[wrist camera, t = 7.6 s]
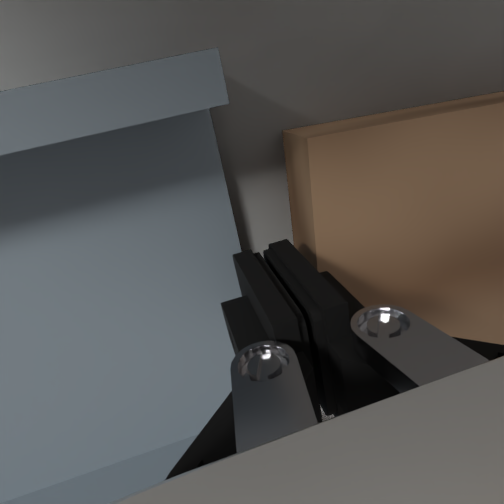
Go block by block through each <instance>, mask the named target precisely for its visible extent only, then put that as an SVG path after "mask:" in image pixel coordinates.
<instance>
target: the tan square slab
mask: <svg viewBox="0 0 504 504" xmlns="http://www.w3.org/2000/svg"><path fill="white" fill-rule="evenodd" d="M282 133H283V143H284V153H285V162H286V172H287V182H288V192H289V201H290V211H291V221H292V231H293V241H294V247H295V248H296V249H297V250H298V251H299V252H300V253H301V254H302V255H303V256H304V257H305V258H306V259H307V260H308V261H309V262H310V263H311V264H312V265H313V267H314V268H315V269H316V270H317V271H318V272H319V273H320V272H324V271H328V272H329V273H330V274H331V275H332V276H333V277H334V278H335V279H336V280H337V281H338V282H340V283H341V284H342V285H343V286H344V287H345V288H346V289H347V290H348V291H349V292H350V293H351V294H352V295H353V296H354V297H355V298H356V299H357V300H358V301H359V302H360V303H361V304H362V305H363V306H364V307H368V306H371V305H379V304H388V305H395V306H399V307H402V308H404V309H407V310H409V311H410V312H412V313H414V314H415V315H417V316H418V317H420V318H422V319H423V320H425V321H427V322H428V323H430V324H431V325H433V326H435V327H436V328H438V329H440V330H441V331H443V332H444V333H446V334H448V335H449V336H451V337H457V338H463V339H470V340H476V341H482V342H489V343H495V344H501V345H504V91H502V92H496V93H491V94H485V95H479V96H474V97H468V98H463V99H457V100H451V101H446V102H440V103H435V104H429V105H423V106H418V107H412V108H406V109H401V110H395V111H390V112H384V113H378V114H373V115H367V116H361V117H356V118H350V119H345V120H339V121H333V122H328V123H322V124H316V125H311V126H305V127H300V128H294V129H288V130H283V131H282Z"/></svg>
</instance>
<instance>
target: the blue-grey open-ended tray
mask: <svg viewBox="0 0 504 504" xmlns="http://www.w3.org/2000/svg"><path fill="white" fill-rule="evenodd" d="M226 104H230V103H229V98H228V94H227V89H226V84H225V79H224V74H223V69H222V64H221V59H220V54H219V50H218V47H216V48H211V49H207V50H202V51H197V52H192V53H187V54H182V55H177V56H172V57H167V58H162V59H157V60H153V61H148V62H143V63H138V64H133V65H128V66H123V67H118V68H113V69H108V70H103V71H99V72H94V73H89V74H84V75H79V76H74V77H69V78H64V79H59V80H54V81H49V82H44V83H40V84H35V85H30V86H25V87H20V88H15V89H10V90H5V91H0V504H109V503H111V502H113V501H115V500H118V499H120V498H123V497H125V496H128V495H130V494H133V493H135V492H138V491H140V490H143V489H145V488H147V487H150V486H152V485H155V484H157V483H160V482H162V481H165V480H166V478H167V476H168V474H169V473H170V471H171V470H172V469H173V467H174V466H175V465H176V464H177V462H178V461H179V460H180V458H181V457H182V456H183V454H184V453H185V452H186V450H187V449H188V448H189V446H190V445H191V444H192V442H193V441H194V440H195V438H196V437H197V436H198V435H199V433H200V432H201V431H202V429H203V428H204V427H205V425H206V424H207V423H208V421H209V420H210V419H211V417H212V416H213V415H214V413H215V412H216V411H217V410H218V408H219V407H220V406H221V404H222V403H223V402H224V400H225V399H226V398H227V396H228V395H229V394H230V392H231V391H232V385H231V372H230V368H231V362H232V360H233V359H234V357H235V353H234V350H233V347H232V343H231V340H230V337H229V333H228V330H227V326H226V323H225V319H224V315H223V311H222V307H221V303H222V302H225V301H228V300H232V299H235V298H238V297H242V295H241V290H240V286H239V282H238V278H237V274H236V270H235V265H234V261H233V254H236V253H240V252H241V247H240V243H239V238H238V234H237V229H236V225H235V221H234V216H233V212H232V207H231V203H230V198H229V194H228V189H227V185H226V181H225V176H224V172H223V167H222V163H221V158H220V154H219V150H218V145H217V141H216V136H215V132H214V127H213V123H212V118H211V114H210V110H209V108H212V107H217V106H221V105H226Z"/></svg>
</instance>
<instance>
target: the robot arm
mask: <svg viewBox="0 0 504 504" xmlns="http://www.w3.org/2000/svg"><path fill="white" fill-rule="evenodd" d="M263 253H264V259H265V260H264V259H263V257H262V256H261V254H260V253H259V252H257V253H254V254H253V252H252V251H251V250H247V251H243V252H240V253H236V254H233V261H234V265H235V270H236V274H237V278H238V282H239V286H240V290H241V295H242V297H238V298H235V299H232V300H228V301H225V302H222V303H221V307H222V311H223V315H224V319H225V323H226V326H227V330H228V333H229V337H230V340H231V343H232V347H233V350H234V353H235V357H234V359H233V360H232V362H231V368H230V372H231V385H232V391H231V392H230V394H229V395H228V396H227V398H226V399H225V400H224V402H223V403H222V404H221V406H220V407H219V408H218V410H217V411H216V412H215V413H214V415H213V416H212V417H211V419H210V420H209V421H208V423H207V424H206V425H205V427H204V428H203V429H202V431H201V432H200V433H199V435H198V436H197V437H196V438H195V440H194V441H193V442H192V444H191V445H190V446H189V448H188V449H187V450H186V452H185V453H184V454H183V456H182V457H181V458H180V460H179V461H178V462H177V464H176V465H175V466H174V467H173V469H172V470H171V471H170V473H169V474H168V476H167V478H166V480H165V481H162V482H160V483H157V484H155V485H152V486H150V487H147V488H145V489H143V490H140V491H138V492H135V493H133V494H130V495H128V496H125V497H123V498H120V499H118V500H115V501H113V502H111V503H109V504H504V345H501V344H495V343H489V342H482V341H476V340H470V339H463V338H457V337H451V336H449V335H448V334H446V333H444V332H443V331H441V330H440V329H438V328H436V327H435V326H433V325H431V324H430V323H428V322H427V321H425V320H423V319H422V318H420V317H418V316H417V315H415V314H414V313H412V312H410V311H409V310H407V309H404V308H402V307H399V306H395V305H388V304H379V305H371V306H368V307H364V306H363V305H362V304H361V303H360V302H359V301H358V300H357V299H356V298H355V297H354V296H353V295H352V294H351V293H350V292H349V291H348V290H347V289H346V288H345V287H344V286H343V285H342V284H341V283H340V282H338V281H337V280H336V279H335V278H334V277H333V276H332V275H331V274H330V273H329V272H328V271H324V272H320V273H319V272H318V271H317V270H316V269H315V268H314V267H313V265H312V264H311V263H310V262H309V261H308V260H307V259H306V258H305V257H304V256H303V255H302V254H301V253H300V252H299V251H298V250H297V249H296V248H295V247H294V246H293V245H292V244H291V243H290V242H289V241H288V240H287V239H285V240H282V241H278V242H275V243H271V244H269V249H268V250H264V252H263ZM320 405H321V407H322V409H323V411H324V412H325V414H326V415H327V416H329V415H332V414H334V416H335V417H334V418H332V419H329V420H326V421H323V422H322V415H321V409H320Z"/></svg>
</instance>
